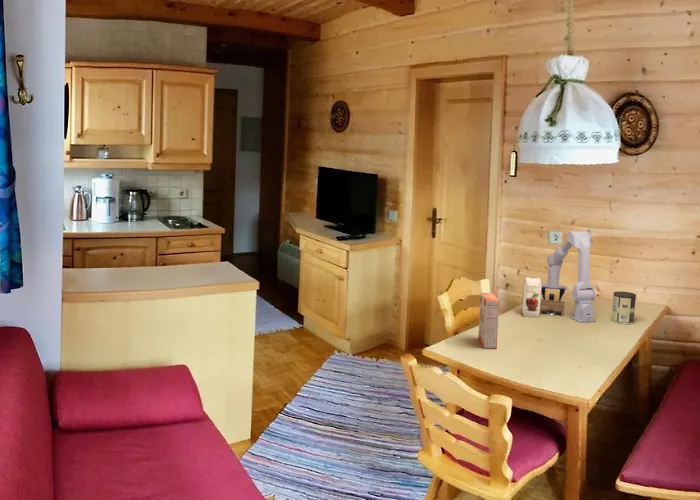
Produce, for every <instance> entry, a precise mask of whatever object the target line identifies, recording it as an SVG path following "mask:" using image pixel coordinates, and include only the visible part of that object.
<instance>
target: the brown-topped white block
mask: <svg viewBox="0 0 700 500" xmlns="http://www.w3.org/2000/svg"><path fill="white" fill-rule="evenodd" d="M548 300H553V301H555V293H551V292H550V293H549V295H548ZM548 312H552V313H555V311H554V310H547V313H548Z"/></svg>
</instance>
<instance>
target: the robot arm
mask: <svg viewBox="0 0 700 500" xmlns="http://www.w3.org/2000/svg"><path fill="white" fill-rule="evenodd" d="M572 247H574V248H576V249H577V251H578V253H577V254H578V255H577V256H578V259H577V262H578V264H577V282H576V283H575V284H574V285H572V286H573V287H572V288H573V289H572V292H571V298H572V299H573V301H574V312H573V316H570V317H569V318H571V319H572V320H575V321H576V322H579V323H591V322H596V321H595V320H594V319H595V318H594V317H595V307H594V305H592V304H591V303H593V301H594V300H595V298H596V292H595V291H596V290H595V285H593V284H592V283H591V282H590V263H591V261H590V257H591V247H592V234H591V233H590V232H589V231H588V230H569V231H568V233H567V234H566V240H565V241H564V243H563V244H562V245H560V246H558V247H557V248H556V250H555V251H554V252H553V253H552V254H548V255H547V258H546V263H547V265H548V270H547V271H548V273H547V283H541V284H542V289H541V296H542V298H543V299H542V300H546V290H547V289H549V290H559V295H558V301H562V297H563V296H564V295H565V291H568V286H566V285H560V271H561V269H562V265H563V263H564V261H563V260H564V259H565V258H566V256H567V255H568V253H569V250H570V248H572Z"/></svg>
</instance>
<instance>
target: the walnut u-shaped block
mask: <svg viewBox="0 0 700 500" xmlns="http://www.w3.org/2000/svg"><path fill="white" fill-rule="evenodd" d="M565 306H566V305H565V301H562V300H561V301H559V300H554V301H553V300H549V299H545V300H543V299H541V303H540V313H539V315H542V311H543V310H545V311H548V310H554V312H555V311H557V312H560V316H561V317H564V315H565Z"/></svg>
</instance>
